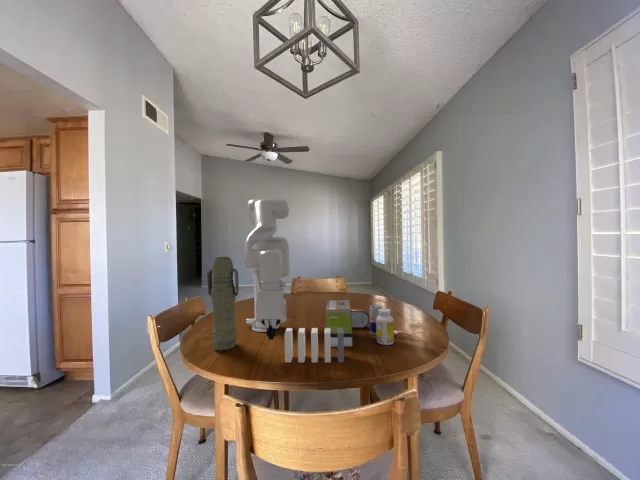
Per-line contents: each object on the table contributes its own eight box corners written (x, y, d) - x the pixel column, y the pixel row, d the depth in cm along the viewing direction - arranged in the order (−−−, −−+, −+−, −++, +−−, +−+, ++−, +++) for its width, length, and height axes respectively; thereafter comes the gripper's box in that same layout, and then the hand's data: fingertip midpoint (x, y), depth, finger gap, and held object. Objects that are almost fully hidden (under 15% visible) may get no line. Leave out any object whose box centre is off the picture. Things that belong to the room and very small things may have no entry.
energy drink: (368, 331, 124) (367, 304, 124) (380, 331, 125) (379, 304, 125) (371, 335, 119) (371, 307, 119) (384, 335, 120) (383, 307, 119)
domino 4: (324, 362, 95) (324, 332, 95) (325, 356, 100) (324, 328, 100) (330, 362, 95) (330, 332, 95) (330, 355, 100) (330, 328, 100)
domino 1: (285, 362, 96) (284, 333, 96) (287, 356, 101) (286, 328, 101) (291, 362, 96) (290, 333, 96) (292, 356, 101) (292, 328, 101)
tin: (369, 326, 131) (369, 308, 131) (370, 329, 128) (370, 310, 128) (337, 326, 133) (337, 308, 133) (337, 328, 130) (336, 310, 129)
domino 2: (298, 362, 96) (297, 333, 96) (299, 355, 101) (299, 328, 101) (304, 362, 96) (303, 333, 95) (305, 356, 101) (305, 328, 100)
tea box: (327, 333, 123) (327, 299, 123) (350, 333, 123) (350, 299, 123) (326, 347, 108) (325, 308, 108) (352, 347, 108) (352, 308, 108)
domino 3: (311, 362, 96) (311, 333, 95) (312, 356, 101) (312, 328, 100) (317, 362, 96) (316, 333, 95) (318, 356, 101) (317, 328, 100)
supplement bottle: (394, 340, 114) (394, 308, 114) (393, 346, 108) (392, 312, 107) (377, 338, 116) (377, 307, 116) (375, 344, 110) (375, 311, 110)
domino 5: (338, 362, 95) (337, 332, 95) (337, 355, 100) (337, 327, 100) (344, 362, 95) (343, 332, 95) (343, 356, 100) (343, 327, 100)
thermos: (213, 342, 115) (211, 256, 114) (242, 341, 115) (240, 256, 114) (204, 351, 106) (202, 258, 105) (236, 350, 106) (234, 257, 105)
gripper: (293, 283, 102) (294, 334, 102) (252, 284, 102) (253, 334, 102) (290, 287, 94) (291, 342, 94) (245, 288, 95) (247, 342, 95)
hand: (271, 338), depth 98 cm, fingers closed
